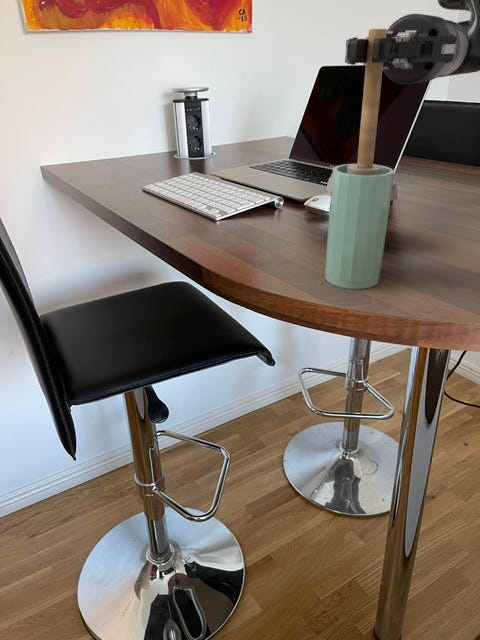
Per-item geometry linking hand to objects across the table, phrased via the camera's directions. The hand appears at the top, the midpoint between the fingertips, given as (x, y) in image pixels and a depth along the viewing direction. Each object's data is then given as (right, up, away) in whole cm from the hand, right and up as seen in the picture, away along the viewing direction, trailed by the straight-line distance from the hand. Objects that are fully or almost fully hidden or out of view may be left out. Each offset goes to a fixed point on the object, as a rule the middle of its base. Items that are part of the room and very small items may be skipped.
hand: (364, 50), depth 51 cm
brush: (+2, -15, +11) cm, 18 cm away
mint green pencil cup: (+2, -22, +15) cm, 27 cm away
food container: (+4, -16, +26) cm, 31 cm away
